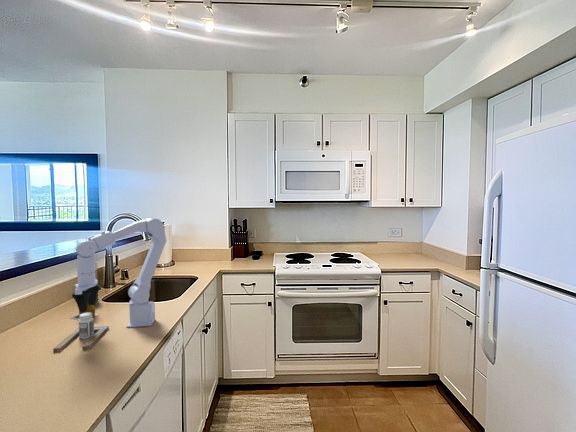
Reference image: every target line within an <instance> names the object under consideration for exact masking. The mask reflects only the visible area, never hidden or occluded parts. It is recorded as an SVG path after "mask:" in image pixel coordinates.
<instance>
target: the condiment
mask: <svg viewBox="0 0 576 432" xmlns="http://www.w3.org/2000/svg"><path fill="white" fill-rule="evenodd" d="M88 312H90V313H92V318H93V317H95V316H98V315H100V313H96V304H95V305H89V304H88V306H87V311H86V312H80V311H79V310H78V314H77V315H74V316H72V317H70V319H72V320H77V321H79V320H80V314H83V313H88Z"/></svg>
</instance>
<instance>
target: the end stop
mask: <svg viewBox="0 0 576 432" xmlns="http://www.w3.org/2000/svg"><path fill="white" fill-rule="evenodd" d="M100 329H106V332H107V331H108V330H109V325H103V326H94V334H96V333H97V332H98V331H99V330H100ZM74 331H79V327H78V328H76V329H75V330H74Z"/></svg>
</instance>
